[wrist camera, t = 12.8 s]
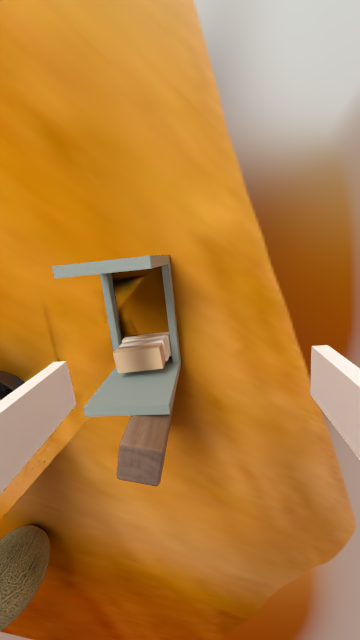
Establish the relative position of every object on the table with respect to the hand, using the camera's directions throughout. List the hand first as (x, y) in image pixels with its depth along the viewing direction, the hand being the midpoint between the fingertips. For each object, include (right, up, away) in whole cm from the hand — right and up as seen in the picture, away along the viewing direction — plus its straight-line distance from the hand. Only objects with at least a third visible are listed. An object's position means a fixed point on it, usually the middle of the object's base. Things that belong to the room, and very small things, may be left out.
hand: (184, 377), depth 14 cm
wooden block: (-3, -9, +29) cm, 31 cm away
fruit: (-31, -42, +41) cm, 66 cm away
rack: (-6, +4, +26) cm, 27 cm away
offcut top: (-6, -2, +22) cm, 23 cm away
